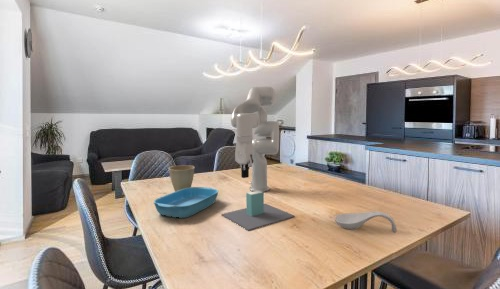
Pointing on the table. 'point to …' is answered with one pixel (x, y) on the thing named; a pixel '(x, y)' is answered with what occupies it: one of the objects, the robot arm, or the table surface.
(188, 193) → the casserole dish
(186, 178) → the plant pot
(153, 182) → the table surface
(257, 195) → the teal rectangular block
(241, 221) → the mat
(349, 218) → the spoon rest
